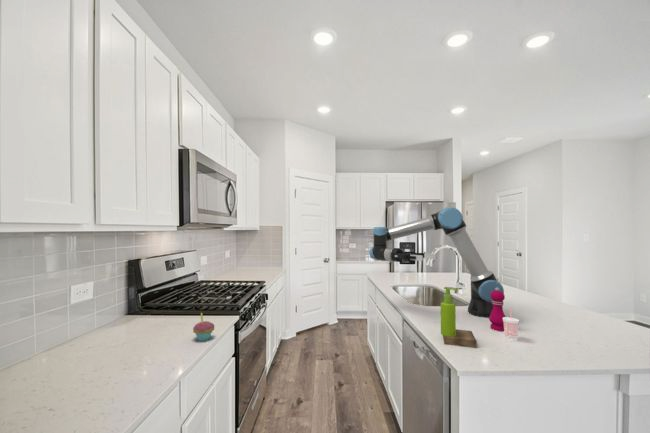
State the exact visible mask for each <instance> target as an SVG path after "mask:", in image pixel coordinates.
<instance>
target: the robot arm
mask: <svg viewBox="0 0 650 433" xmlns="http://www.w3.org/2000/svg"><path fill="white" fill-rule="evenodd" d="M466 228H467V225H466V223H465V220H464V217H463V214H462V213H461V211H460V210H459V209H458V208H456V207H453V206H448V207H444V208H442V209H441V210H440V211H437V212H436V213H433V214H432V213H431V214H429V216H428V217H424V218H420V219H417V220H412V221H410V222H406V223H402V224H399V225H395V226H391V227H386V226H375V227H373V246H372V247H371V248H370V250H369V251H368V253H369V257H370V259H372V260H377V261H386V262H389V263H391V262H396V263H397V262H398V263H400V262H402V261H403V260H404V261H407V262H411V261H417V262H418V261H419V262H424V259H426V260H427V259H430V260H437V253H427V252H426V251H423V252H413V251H403V248H398V247H387V245H388V241H392V240H397V239H399V238H404V237H407V236H411V235H416V234H418V233H423V232H426V231H431V230H433V231H438V230H443V233H444V234H445V236H448V237H450V239H451V241H452V243H453V245H454V246H455V249H456V250H457V252H458V254H459V256H460V257H461V258H460V259H462V261H463V263H464V265H465V267H466V268H467V270H468V272H469V273H470V301H469V304H468V307H467V312H469V313H468V314H470V313H471V314H470V315H472V314H474V315H473V316H476V315H478V316H477V317H481V316H485V317H484V318H489V317H490V314H491V312H492V309H493V304H492V298H491V297H490V294H491V292H492V291H496V290H495V288H497V287H498V288H499V291H501V292H502V293H503V294H504V293H505V289H504V286H503V285H502V284H501V282H500V281H498V279H497V277H496V276H495V274H494V272H493V271H491V270H488V268H487V265H486V264H485V263H484V261H483V259H482V257H481V256H480V253H479V251H478V250H477V248H476V246H475V244H474V242H473V241H472V239H471V237H470V236H469V234H468V232H467V230H466ZM504 295H505V294H504Z"/></svg>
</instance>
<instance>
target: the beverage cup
mask: <svg viewBox="0 0 650 433" xmlns="http://www.w3.org/2000/svg"><path fill="white" fill-rule="evenodd" d="M503 322H504V331H503V332H504V334H503V335H504V340H505V341H508V342H510V341H511V342H510V343H517V342H518V338H519V337H518V336H519V322H520V319H518V318H515V317H512V307H510V306H509V316H505V317H503Z"/></svg>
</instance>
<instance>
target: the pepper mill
mask: <svg viewBox="0 0 650 433" xmlns="http://www.w3.org/2000/svg"><path fill="white" fill-rule="evenodd" d="M495 290H496V291H492V292H491V294H490V297H491V298H492V304H493V309H492V312H491V314H490V317H488V319H489V322H490V329H491V328H492V329H491V330H493V329H494V330H493V331H495V330H497V331H496V332H504V322H503V317H506V315H505V313H504V310H503V305H504V300H505V299H506V298H505V294H503V293H502V292H501V291H499V288H498V287H497V288H495Z"/></svg>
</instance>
